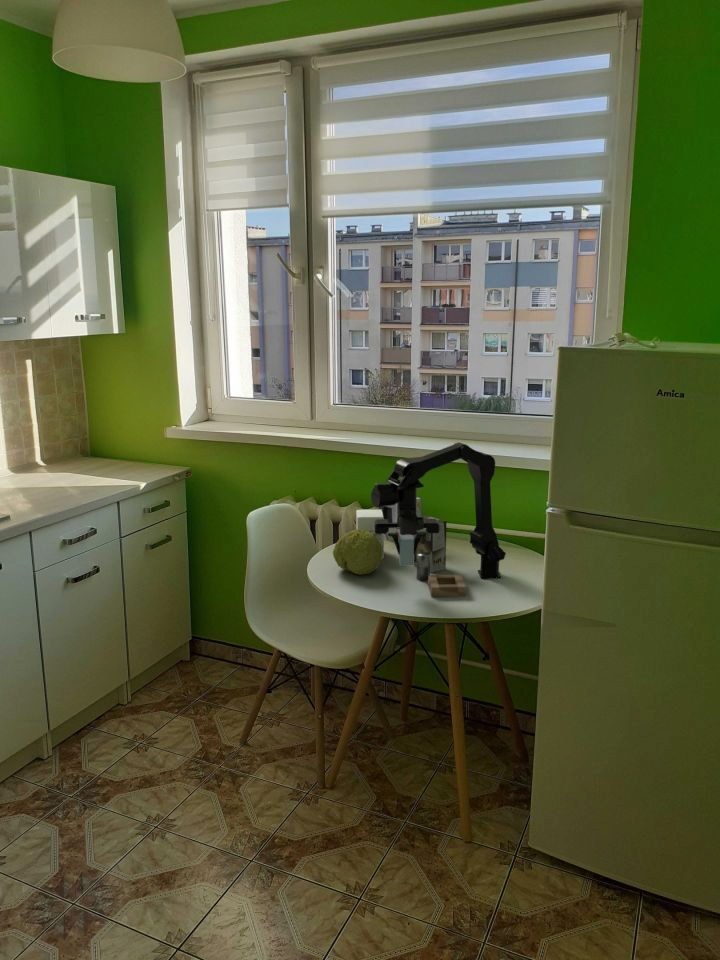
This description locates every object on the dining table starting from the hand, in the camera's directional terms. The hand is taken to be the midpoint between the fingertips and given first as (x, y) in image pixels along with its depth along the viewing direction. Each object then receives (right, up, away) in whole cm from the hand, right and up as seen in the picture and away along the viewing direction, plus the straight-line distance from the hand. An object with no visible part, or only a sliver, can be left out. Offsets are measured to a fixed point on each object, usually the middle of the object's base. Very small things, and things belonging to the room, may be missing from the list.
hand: (406, 553), depth 228 cm
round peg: (+6, -9, +13) cm, 17 cm away
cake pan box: (0, 0, +48) cm, 48 cm away
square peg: (0, -3, +1) cm, 3 cm away
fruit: (-14, -8, +19) cm, 25 cm away
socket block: (+12, -11, +3) cm, 17 cm away
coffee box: (+9, -7, +23) cm, 25 cm away
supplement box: (-10, -4, +34) cm, 36 cm away
